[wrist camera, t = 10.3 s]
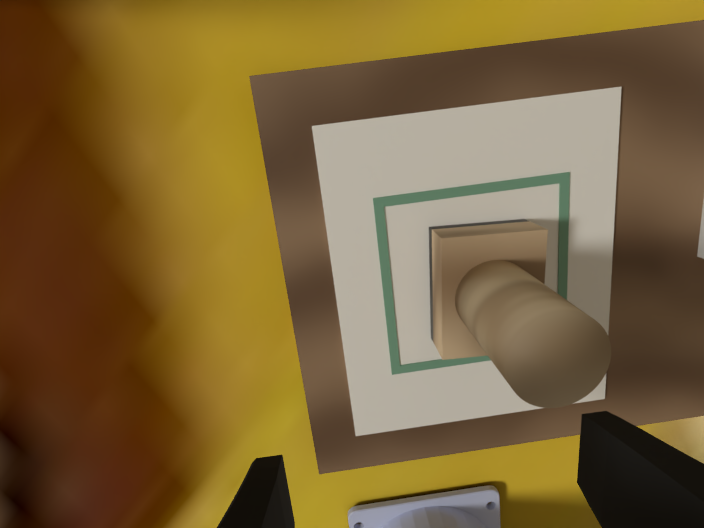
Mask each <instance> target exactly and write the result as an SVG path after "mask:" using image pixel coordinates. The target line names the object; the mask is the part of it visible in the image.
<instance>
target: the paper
mask: <svg viewBox="0 0 704 528" xmlns="http://www.w3.org/2000/svg"><path fill="white" fill-rule="evenodd" d="M621 88H622V87H614V88H606V89H598V90H590V91H582V92H575V93H567V94H559V95H551V96H543V97H535V98H528V99H520V100H512V101H504V102H496V103H488V104H480V105H473V106H465V107H457V108H449V109H441V110H433V111H425V112H418V113H410V114H402V115H394V116H386V117H378V118H371V119H363V120H355V121H347V122H339V123H331V124H323V125H316V126H312V132H313V139H314V146H315V153H316V160H317V167H318V174H319V181H320V188H321V195H322V202H323V209H324V216H325V224H326V231H327V238H328V245H329V252H330V259H331V266H332V273H333V280H334V287H335V294H336V301H337V308H338V315H339V322H340V329H341V336H342V343H343V350H344V357H345V364H346V372H347V379H348V386H349V393H350V400H351V407H352V414H353V421H354V428H355V435H356V436H361V435H368V434H374V433H381V432H388V431H394V430H401V429H408V428H414V427H421V426H428V425H434V424H441V423H448V422H454V421H461V420H468V419H474V418H481V417H488V416H494V415H501V414H508V413H514V412H521V411H528V410H534V409H541V408H542V407H537V406H534V405H531V404H529V403H527V402H525V401H524V400H522V399H521V398H520V397H519V396H518V395H517V394H516V393H515V392H514V391H513V389H512V388H511V387H510V385H509V384H508V383H507V381H506V380H505V378H504V377H503V376H502V374H501V373H500V372H499V370H498V369H497V368H496V366H495V365H494V364H493V362H492V361H491V359H490V358H489V357H488V356H478V357H467V358H457V359H447V360H442V358H441V356H440V354H439V352H438V350H437V348H436V346H435V345H434V343H433V341H432V339H431V323H430V269H429V227H432V226H444V225H456V224H468V223H480V222H492V221H504V220H517V219H526V220H528V221H530V222H532V223H535V224H537V225H539V226H541V227H544V228H546V229H548V235H547V251H546V267H545V285H546V286H547V287H549V288H550V289H552V290H553V291H555V292H556V293H557V294H559V295H560V296H562V297H563V298H565V299H566V300H567V301H569V302H570V303H572V304H573V305H575V306H576V307H577V308H579V309H580V310H582V311H583V312H584V313H586V314H587V315H589V316H590V317H592V318H593V319H594V320H596V321H597V322H598V323H599V324H600V325H601V326H602V327H603V328H604V329H605V331H606V333H607V335H608V331H609V313H610V294H611V275H612V256H613V238H614V219H615V200H616V181H617V163H618V144H619V125H620V106H621ZM605 388H606V374H605V376H604V378H603V379H602V381H601V382H600V383H599V385H598V386H597V387H596V388H595V389H594V390H593V391H592V392H591V393H589V394H588V395H587V396H585V397H584V398H582V399H581V400H579V401H577V402H575V403H581V402H588V401H594V400H601V399H605ZM572 404H574V403H572Z"/></svg>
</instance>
